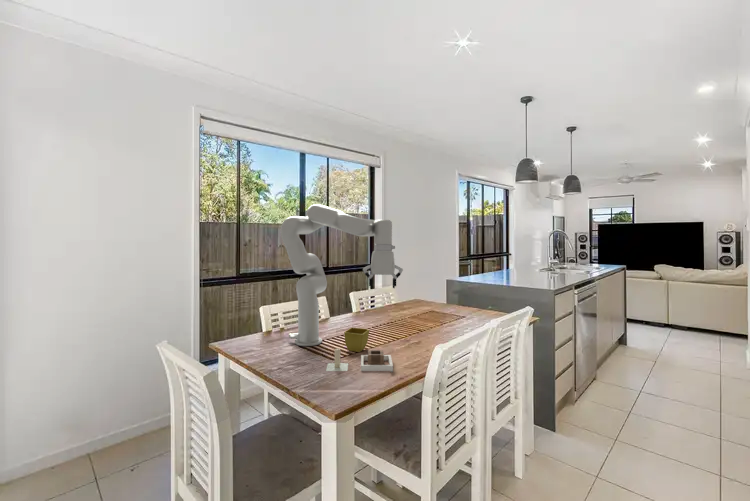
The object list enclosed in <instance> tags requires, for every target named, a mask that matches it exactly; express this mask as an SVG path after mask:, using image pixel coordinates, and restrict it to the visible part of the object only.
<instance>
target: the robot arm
mask: <svg viewBox="0 0 750 501" xmlns="http://www.w3.org/2000/svg"><path fill="white" fill-rule="evenodd" d="M392 222H393V221H391V219H390V220H389V219H369V218H362V217H361V218H360V217H357V216H353V215H350V214H347V213H345V212H344V211H343V210H340V209H336V208H333V207H330V206H327V205H323V204H318V203H316V204H312V205H310V206H309V207H308V208H307V210H306V216H299V215H293V216H292V215H291V216H289V217H287V218H285V219H284V220H283V222H282V224H281V225H280V226H281V227H280V238H281V240H282V242H283V245H284V247H285V251H286V252H287V253H286V254H287V256H288V259H289V261H290V262H289V263H290V265H291V269H292V270H293V272H294V273H295V274H297V275H303V276H302V277H300V278H299V279H298V280H297V282H296V285H295V290H296V295H297V296H296V297H297V310H298V311H297V319H298V320H297V327H298V328H297V330H298V331H297V332H296V333H289V334H288V338H289V339H291V340H292V339H294V344H295V345H297V346H300V347H312V346H317V345H320V344H321V343H323V339H322V338H321V337H320V336H319V335H320V334H319V332H320V330H319V324H320V323H319V322H320V321H319V320H320V317H319V313H320V311H319V310H320V309H319V308H320V307H319V299H318V296H317V295H319V294H321V293H323V292H325V290H326V289H327V287H328V280H327V277H326V274H325V271H324V268H323V266H322V265H323V264H322V262H321V260H320V258H319V256H317V255H316V254H314V253H311V252H309V253H308V251H307V250H306V248H305V247H306V246H305V245H304V241H303V240H302V239H301V238H300V236H299V235H309V234H312V233H314V232H315V231H317V230H319V229H321V228H322V227H324V226H325V227H329V228H331V229H332V228H333V229H335V230H338V231H341V232H344V233H347V234H350V235H354V236H357V237H374V243H373V244H374V245H373V246H374V248H373V251H372V253H371V259H370V260H371V261H370V262H371V263H370V264H369V265H367V266H365V267H362V272H363V273H364V275H365V276H366V277H367V278H368V286H369V287H370V289H373V277H374V276H376V275H377V276H378V275H379V276H380V275H381V276H382V275H385V276H390V275H391V276H392V289H395V288H396V287H397V279H398V278H400V276H401V275H402V272H403V271H404V269H403V268H402V267H401V266H398V265H396V264H395V254H394V253H395V252H394V251H393V250H395V249H396V245H394V244H393V223H392ZM395 269H396V270H398V271H397V273H396V274H395ZM367 270H370V274H369V273H368V271H367ZM304 274H306V275H304Z"/></svg>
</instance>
